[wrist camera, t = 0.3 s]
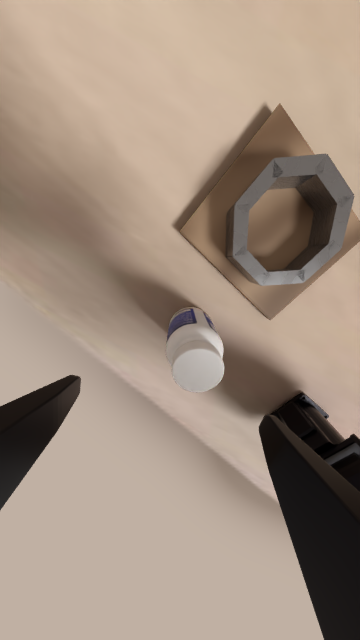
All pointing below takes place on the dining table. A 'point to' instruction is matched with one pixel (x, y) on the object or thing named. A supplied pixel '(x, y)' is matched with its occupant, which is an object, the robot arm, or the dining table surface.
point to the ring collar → (327, 224)
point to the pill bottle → (194, 350)
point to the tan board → (263, 218)
